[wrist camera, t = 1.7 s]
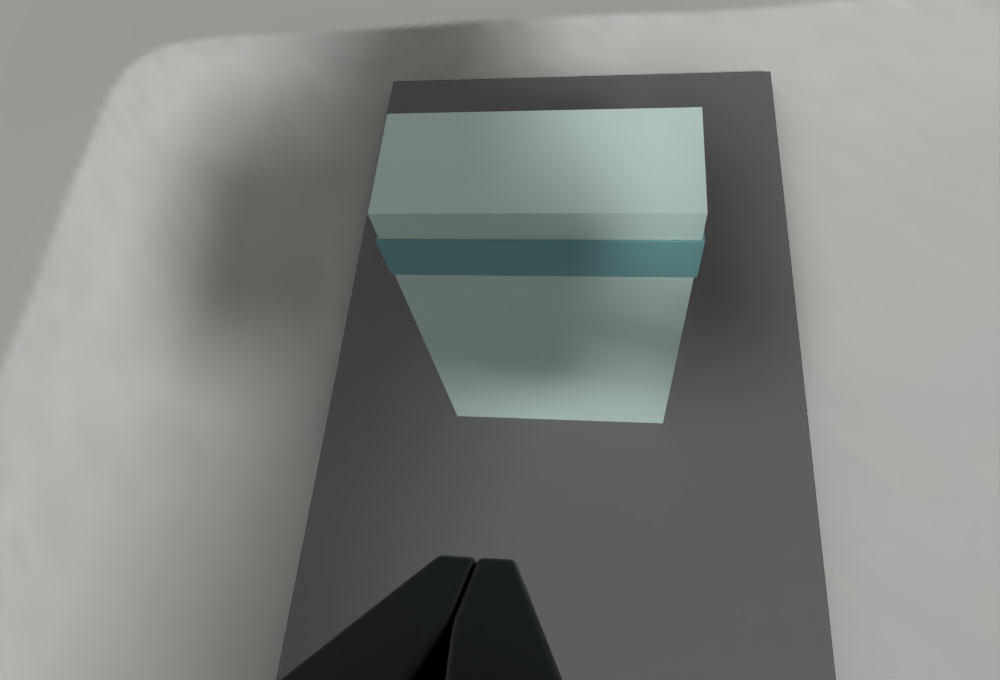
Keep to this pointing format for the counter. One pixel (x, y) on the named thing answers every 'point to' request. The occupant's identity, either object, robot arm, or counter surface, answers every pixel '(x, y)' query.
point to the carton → (546, 253)
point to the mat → (597, 444)
